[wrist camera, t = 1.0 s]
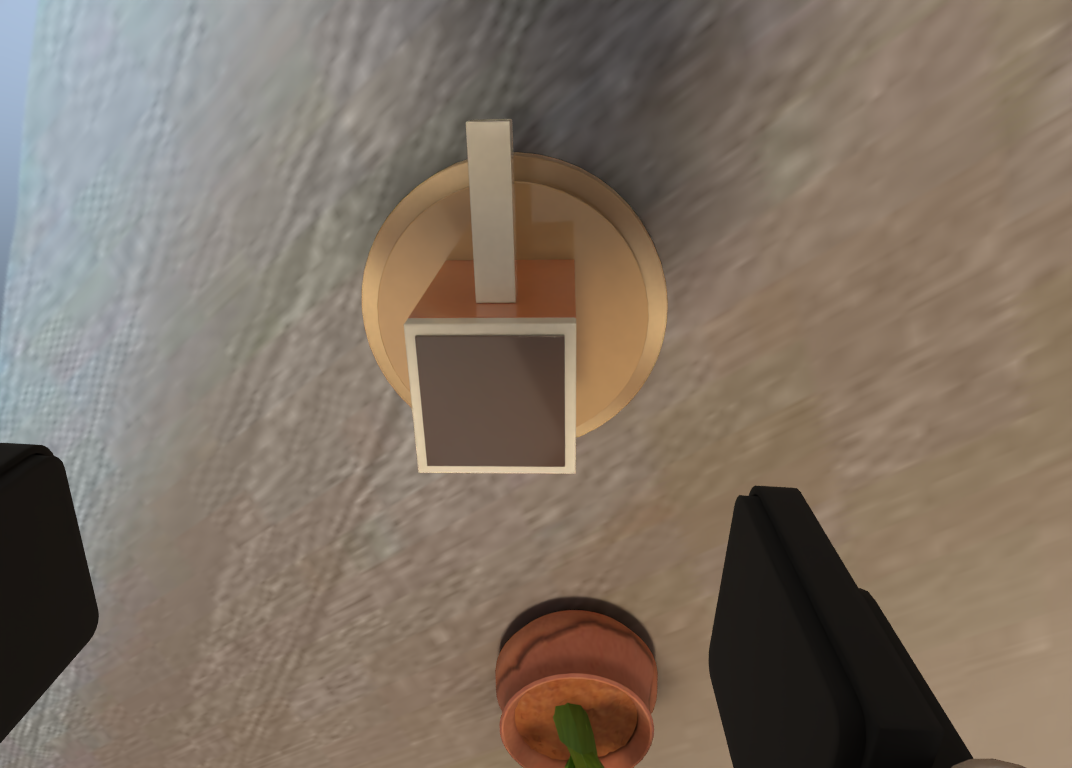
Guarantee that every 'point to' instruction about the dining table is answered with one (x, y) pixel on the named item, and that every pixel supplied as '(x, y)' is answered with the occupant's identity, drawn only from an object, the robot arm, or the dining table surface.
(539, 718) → the potted flower
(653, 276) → the turntable base
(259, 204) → the dining table surface
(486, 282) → the orange block with handle
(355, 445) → the dining table surface
